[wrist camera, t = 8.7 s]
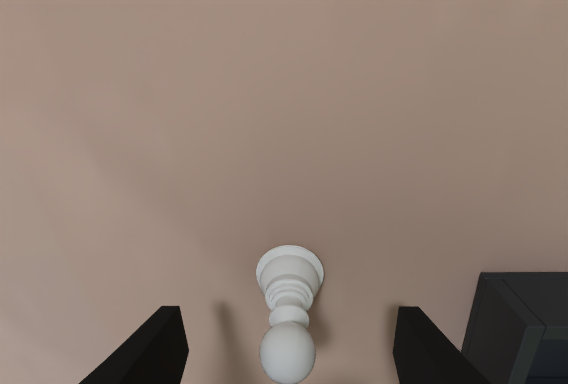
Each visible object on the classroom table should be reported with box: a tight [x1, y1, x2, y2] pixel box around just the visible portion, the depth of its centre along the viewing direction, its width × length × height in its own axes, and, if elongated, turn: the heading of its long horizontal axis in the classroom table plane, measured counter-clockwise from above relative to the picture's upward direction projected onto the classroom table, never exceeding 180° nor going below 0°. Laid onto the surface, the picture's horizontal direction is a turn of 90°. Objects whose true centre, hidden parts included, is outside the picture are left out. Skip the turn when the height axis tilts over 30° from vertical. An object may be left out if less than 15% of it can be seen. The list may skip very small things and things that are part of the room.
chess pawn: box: [256, 245, 324, 384], centre depth 11 cm, size 3×3×5 cm
